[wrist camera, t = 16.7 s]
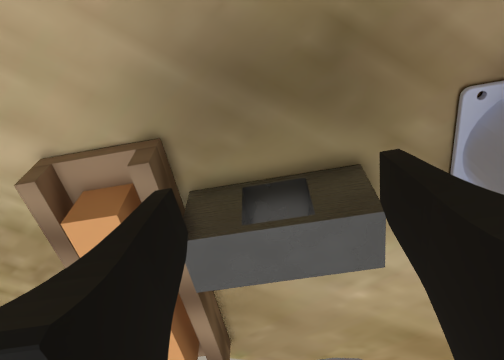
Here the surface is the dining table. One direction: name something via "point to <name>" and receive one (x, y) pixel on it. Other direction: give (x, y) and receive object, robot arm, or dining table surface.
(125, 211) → the shaft
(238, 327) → the dining table surface
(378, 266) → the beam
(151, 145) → the tray
